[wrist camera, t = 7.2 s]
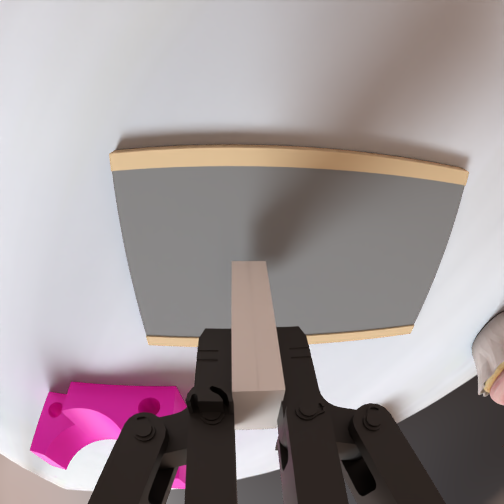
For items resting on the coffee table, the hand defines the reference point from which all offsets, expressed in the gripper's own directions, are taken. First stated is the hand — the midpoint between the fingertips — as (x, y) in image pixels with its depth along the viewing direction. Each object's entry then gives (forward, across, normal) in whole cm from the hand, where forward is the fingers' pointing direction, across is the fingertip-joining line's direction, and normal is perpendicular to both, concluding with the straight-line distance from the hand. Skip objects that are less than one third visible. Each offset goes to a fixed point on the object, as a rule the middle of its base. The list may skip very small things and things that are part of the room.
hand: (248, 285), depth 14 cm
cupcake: (+3, +25, -9) cm, 27 cm away
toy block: (+3, -12, -16) cm, 20 cm away
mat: (+2, +3, 0) cm, 4 cm away
